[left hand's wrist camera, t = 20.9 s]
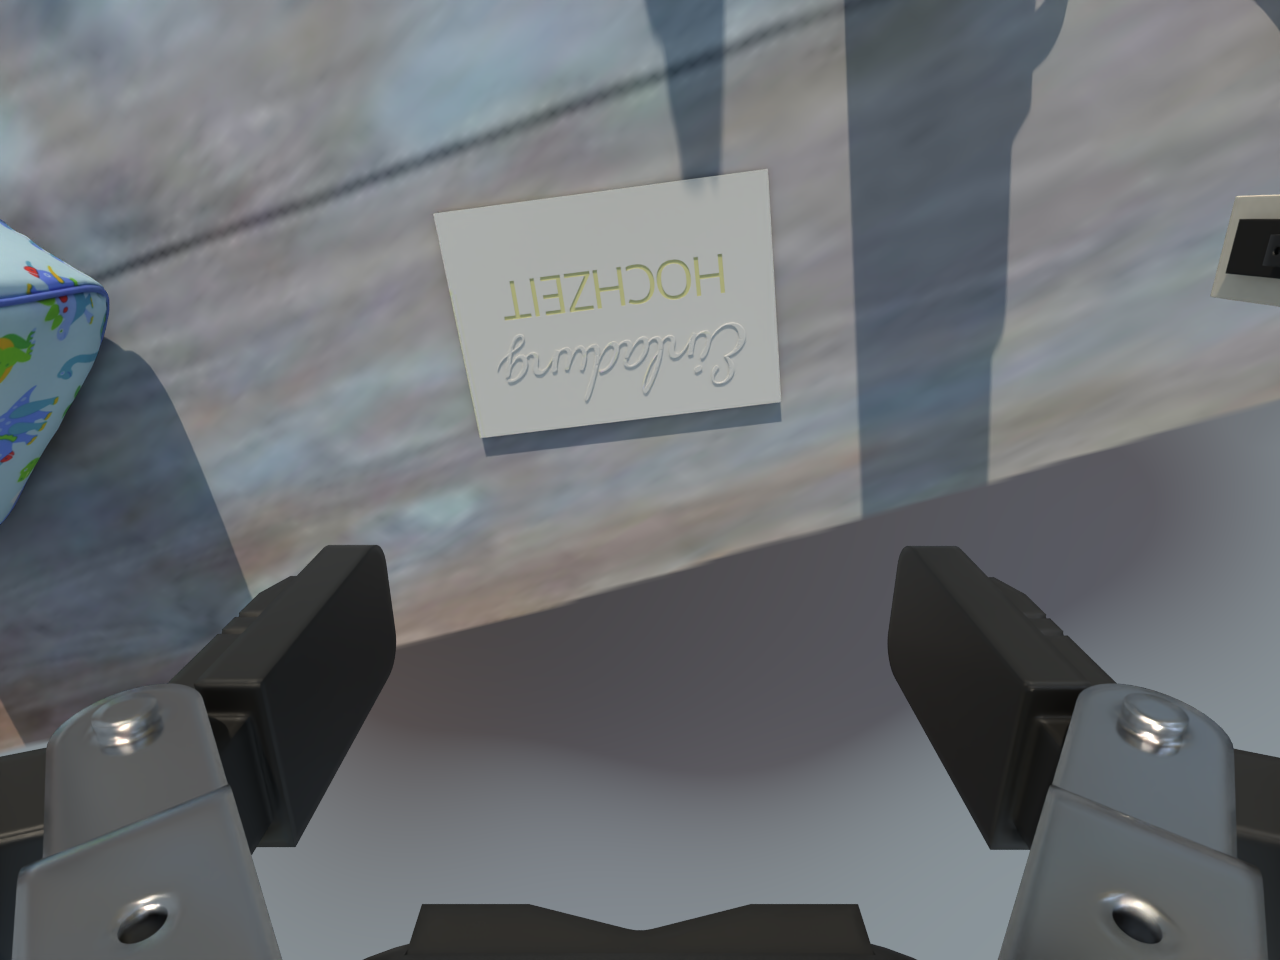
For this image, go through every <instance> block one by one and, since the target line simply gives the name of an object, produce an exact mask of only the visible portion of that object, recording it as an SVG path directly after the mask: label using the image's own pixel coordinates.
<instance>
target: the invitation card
mask: <svg viewBox="0 0 1280 960" xmlns="http://www.w3.org/2000/svg"><path fill="white" fill-rule="evenodd" d="M433 215H434V220H435V225H436V229H437V234H438V239H439V244H440V249H441V253H442V258H443V263H444V268H445V272H446V277H447V282H448V287H449V291H450V296H451V301H452V306H453V311H454V315H455V320H456V325H457V330H458V334H459V339H460V344H461V349H462V354H463V358H464V363H465V368H466V373H467V377H468V382H469V387H470V392H471V397H472V401H473V406H474V411H475V416H476V420H477V425H478V430H479V435H480V438H485V437H494V436H502V435H510V434H519V433H527V432H535V431H544V430H552V429H560V428H569V427H577V426H585V425H594V424H602V423H610V422H619V421H627V420H635V419H644V418H652V417H660V416H669V415H677V414H685V413H694V412H702V411H710V410H719V409H727V408H735V407H744V406H752V405H760V404H769V403H777V402H781V390H780V373H779V355H778V338H777V320H776V303H775V285H774V268H773V250H772V233H771V215H770V198H769V180H768V169H762V170H755V171H747V172H740V173H733V174H725V175H718V176H710V177H703V178H695V179H688V180H680V181H673V182H665V183H658V184H650V185H643V186H635V187H628V188H621V189H613V190H606V191H598V192H591V193H583V194H576V195H568V196H561V197H553V198H546V199H538V200H531V201H523V202H516V203H509V204H501V205H494V206H486V207H479V208H471V209H464V210H456V211H449V212H441V213H434V214H433Z"/></svg>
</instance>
